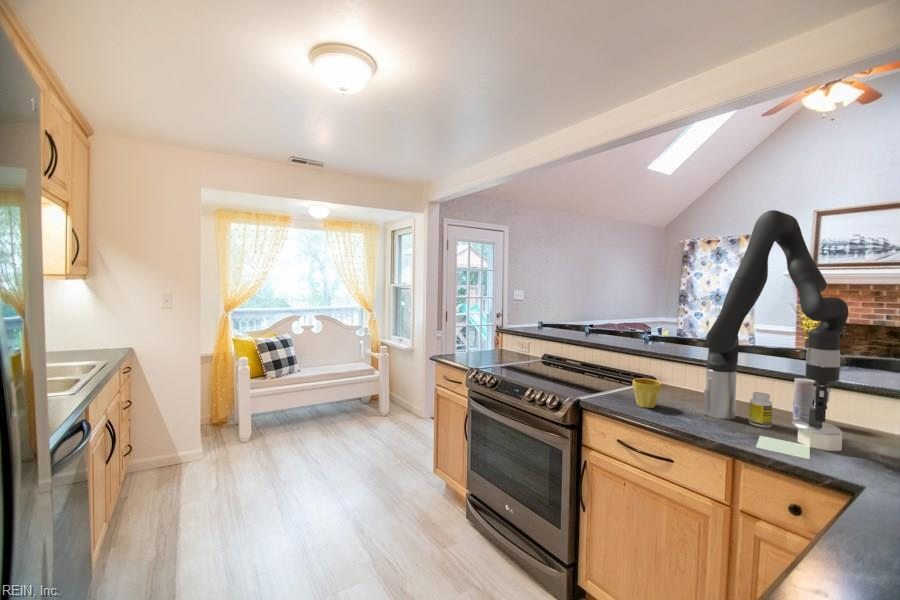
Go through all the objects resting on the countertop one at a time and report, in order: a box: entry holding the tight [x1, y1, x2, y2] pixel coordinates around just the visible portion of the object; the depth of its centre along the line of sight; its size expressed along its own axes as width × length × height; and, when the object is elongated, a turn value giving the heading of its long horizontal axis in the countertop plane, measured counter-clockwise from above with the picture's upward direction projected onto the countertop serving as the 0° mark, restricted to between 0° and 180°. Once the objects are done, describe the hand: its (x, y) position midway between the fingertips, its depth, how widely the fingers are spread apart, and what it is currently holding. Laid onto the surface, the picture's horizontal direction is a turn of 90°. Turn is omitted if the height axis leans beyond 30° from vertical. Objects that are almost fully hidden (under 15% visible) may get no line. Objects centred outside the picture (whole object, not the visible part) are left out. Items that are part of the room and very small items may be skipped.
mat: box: [755, 435, 811, 460], centre depth 121 cm, size 12×12×1 cm
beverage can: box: [792, 377, 816, 420], centre depth 143 cm, size 6×6×15 cm
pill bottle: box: [748, 391, 773, 428], centre depth 139 cm, size 6×6×11 cm
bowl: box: [796, 428, 843, 452], centre depth 122 cm, size 10×10×5 cm
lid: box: [791, 407, 841, 435], centre depth 123 cm, size 11×11×6 cm
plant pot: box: [632, 377, 662, 409], centre depth 161 cm, size 10×10×10 cm
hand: (820, 418), depth 122 cm, fingers open, 4 cm apart
